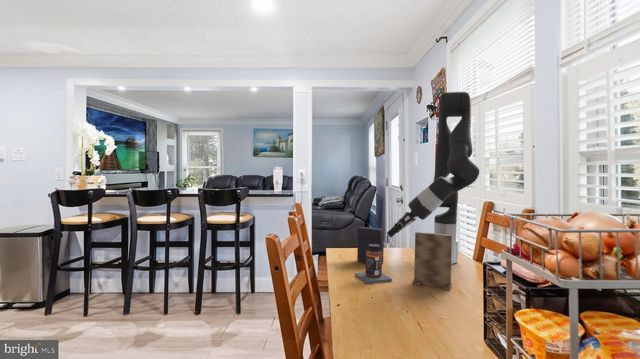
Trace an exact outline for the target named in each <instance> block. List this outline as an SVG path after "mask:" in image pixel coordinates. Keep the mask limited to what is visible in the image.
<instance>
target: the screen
mask: <svg viewBox="0 0 640 359" xmlns="http://www.w3.org/2000/svg"><path fill="white" fill-rule="evenodd" d="M451 255H452V235H445V234H434V232H433V233H431V232H420V231H416V232H415V233H414V269H413V270H414V271H413V272H414V273H413V274H414V276H413V280H412V285H413V286H421V285H423V286H424V285H425V286H431V287H437V288H442V290H444V291H445V290H446V291H451V290H452V286H453V282H452V264H451Z"/></svg>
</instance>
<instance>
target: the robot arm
mask: <svg viewBox="0 0 640 359" xmlns="http://www.w3.org/2000/svg"><path fill="white" fill-rule="evenodd" d="M453 117H454V118H457V117H459V118H460V117H461V118H460V120H459V122H458V123H457V124H456V125H455V127H454V128H453V129H452V130H451V128H450V126H449V123H448V118H453ZM437 122H438V126H437V127H438V128H437V140H436V148H435V162H434V175H433V176H434V177H433V182H432V183H430V185H428V186H427V187H426V188H425V189H423V190H421V192H420V193H418V195H416V196H415V197H414V198H413V199H412V200H411V201H410V202H408V208H409V209H410V211H409V210H408V211H406V212H405V213H404V214H403V215H402V216H401V217H400V218H399V219H398V220H397V221H396V223H394V225H393V226H392V227H391V228H390V229H389V230H388V231H387V232H386V234H387V235H388V236H389V238H392V237H394V236H395V235H396V234H399V233H400V232H401V231H402V230H403V229H406V228H407V227H408V226H411V224H413V223H414V222H415V221H417V219H416V218H419V219H420V220H422V221H423V220H425V219H426V218H428V217H429V216H430V215H431V214H432V213H433V212H435V211H436V210H437V209H438V208H448V210H446V211H445V212H442V213H440V214H436V215H435V216H434V223H433V224H434V226H433V227H434V228H433V230H434V231H433V233H434V234H445V235H452V255H451V265H453V264H456V263H459V262H458V261H459V260H458V258H459V257H458V256H459V254H458V253H459V241H458V240H457V221H458V219H457V218H458V201H459V192H460V191H461V190H463V189H465V188H467V187H469V186H470V185H472V184H474V182H476V180H477V179H478V178H479V177H480V176H479V175H480V168H479V166H477V165H476V164H475V163H474V162H473V161H472V160H470V157H471V156H472V154H473V142H472V137H471V136H472V134H471V132H472V131H471V127H472V126H471V125H472V98H471V96H470V93H469V92H466V91H450V92H448V91H447V92H442V93H441V94H440V97H439V101H438V121H437ZM450 174H451V175H452V176H451V177H449V178H447V177H448V176H449V175H450Z"/></svg>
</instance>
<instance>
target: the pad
mask: <svg viewBox="0 0 640 359" xmlns="http://www.w3.org/2000/svg"><path fill="white" fill-rule="evenodd" d="M354 276H355V277H356V278H358V279H359V280H361V281H362V282H363V283H364V284H365V285H369V284H381V283H390V282H393V279H392V278H391V277H389V275H386V274H385V273H383V272H382V275H381V276H380V277H377V278H374V277H368V276H367V275H366V272H365V271H364V272H363V271H362V272H354Z"/></svg>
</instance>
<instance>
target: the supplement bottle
mask: <svg viewBox="0 0 640 359" xmlns="http://www.w3.org/2000/svg"><path fill="white" fill-rule="evenodd" d="M379 249H380V245H377V244H370V245H369V250H367V251H366V263H365V271H364V272H366V275H367V276H368V277H374V278H377V277H380V276H381V275H382V273H383V269H382V268H383V264H382V252H381V251H380V250H379Z"/></svg>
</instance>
